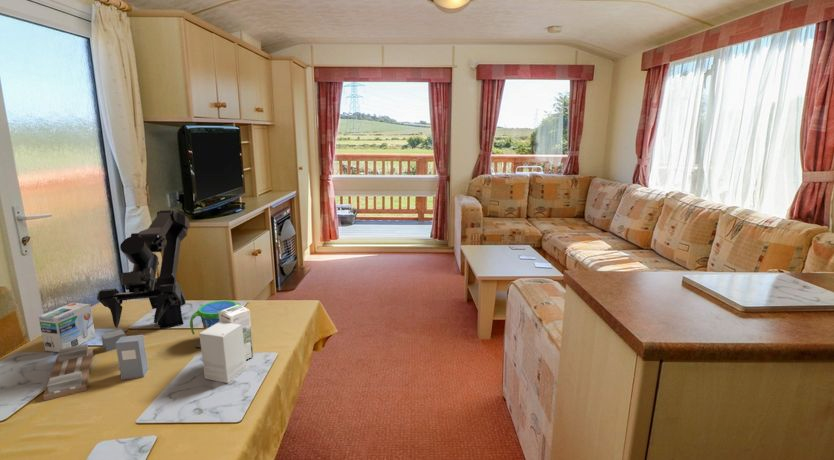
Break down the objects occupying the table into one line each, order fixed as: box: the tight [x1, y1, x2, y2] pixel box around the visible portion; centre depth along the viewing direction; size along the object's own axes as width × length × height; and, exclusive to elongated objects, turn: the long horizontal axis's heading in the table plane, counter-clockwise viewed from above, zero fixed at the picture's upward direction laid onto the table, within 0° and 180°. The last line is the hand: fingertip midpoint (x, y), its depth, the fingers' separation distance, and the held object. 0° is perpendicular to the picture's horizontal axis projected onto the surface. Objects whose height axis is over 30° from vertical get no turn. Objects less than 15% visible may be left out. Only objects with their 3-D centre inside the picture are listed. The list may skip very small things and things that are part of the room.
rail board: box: [43, 343, 95, 401], centre depth 114 cm, size 22×8×3 cm, turn 32°
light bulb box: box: [38, 302, 96, 353], centre depth 129 cm, size 11×7×11 cm, turn 168°
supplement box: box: [198, 322, 248, 384], centre depth 113 cm, size 7×7×13 cm
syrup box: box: [219, 304, 254, 361], centre depth 120 cm, size 6×6×14 cm
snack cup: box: [189, 300, 242, 335], centre depth 132 cm, size 16×10×10 cm
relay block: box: [100, 328, 126, 353], centre depth 128 cm, size 5×4×4 cm
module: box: [115, 334, 149, 380], centre depth 113 cm, size 4×5×10 cm
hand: (135, 325), depth 116 cm, fingers open, 9 cm apart
